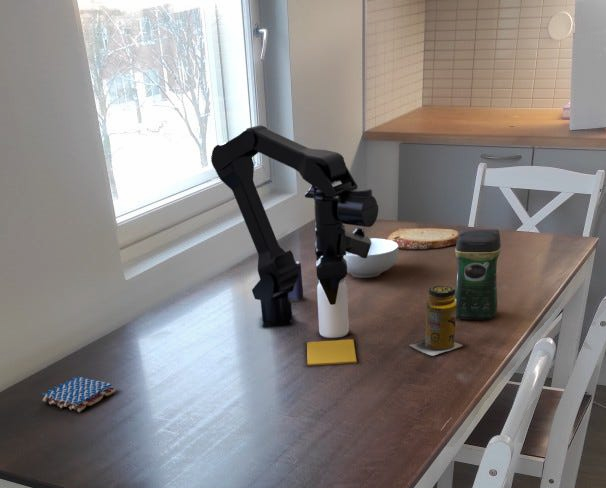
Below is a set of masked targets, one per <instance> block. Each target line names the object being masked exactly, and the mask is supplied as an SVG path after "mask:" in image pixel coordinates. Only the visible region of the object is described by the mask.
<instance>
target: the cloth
mask: <svg viewBox="0 0 606 488" xmlns="http://www.w3.org/2000/svg"><path fill="white" fill-rule="evenodd" d="M306 354H307V356H306V358H307V359H306V360H307V366H308V367H311V366H325V365H326V366H327V365H329V366H330V365H342V364H343V365H344V364H356V363H358V361H357V355H356V347H355V342H354V339H337V340H336V339H335V340H322V341H320V340H319V341H308V342H306Z"/></svg>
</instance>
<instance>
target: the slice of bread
mask: <svg viewBox="0 0 606 488" xmlns="http://www.w3.org/2000/svg"><path fill="white" fill-rule="evenodd" d="M459 233H460V231H458V230H455V229H449V228H448V229H447V228H435V227H434V228H431V227H430V228H429V227H427V228H425V227H424V228H403V227H401V228H399V229H398V230H397V229H396V230H394V231H393V232H392V233H390V234H389V235H388V236H387V238H386V240H391V241H394V242H396V243H397V244H398V247H399V248H398V249H400V250H404V251H405V250H406V251H411V250H413V251H414V250H416V251H417V250H418V251H419V250H420V251H421V250H429V249H441V248H442V249H443V248H446V247H451V246H456V244H457V239H458V235H459Z"/></svg>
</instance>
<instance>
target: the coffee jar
mask: <svg viewBox="0 0 606 488" xmlns="http://www.w3.org/2000/svg"><path fill="white" fill-rule="evenodd" d="M501 243H502V242H501V233H500V231H499V229H485V228H483V229H482V228H481V229H479V228H478V229H476V228H475V229H461V231H459V235H458V239H457V244H455V256H456V257H455V258H456V259H457V273H456V274H457V275H456V276H457V277H456V286H455V301H456V318H457V319H462V320H474V321H477V320H490V319H492V318H493V317H495V316H496V315H497V312H498V290H497V289H498V287H497V264H498V258H499V256H500V254H501V251H502V244H501Z"/></svg>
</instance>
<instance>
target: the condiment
mask: <svg viewBox="0 0 606 488" xmlns="http://www.w3.org/2000/svg"><path fill="white" fill-rule="evenodd" d="M455 292H456V288H454V287H453V286H452V285H446V284H439V285H434V286H431V287H430V288H429V290H428V296H427V298H428V300H427V301H426V303H425V304H426V305H425V306H426V307H425V339H424V340H421V341H419V342H416V343H412V344H409V346H410V347H412V348H413V349H415V350H417V351H419V352H421V353H423V354H426V355H429V356H431V357H434V356H436V355H439V354H442V353H445V352H449V351H450V352H451V351H452V350H455V349H458V348H461V347H463V346H464V345H463V344H461V343H458V342H456V341H455V340H456V322H457V321H456V320H457V319H456V318H457V317H456V301H455Z"/></svg>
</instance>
